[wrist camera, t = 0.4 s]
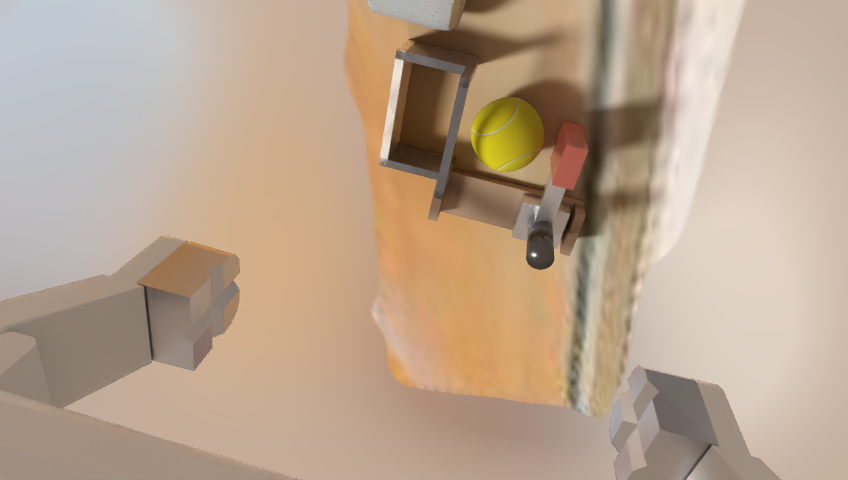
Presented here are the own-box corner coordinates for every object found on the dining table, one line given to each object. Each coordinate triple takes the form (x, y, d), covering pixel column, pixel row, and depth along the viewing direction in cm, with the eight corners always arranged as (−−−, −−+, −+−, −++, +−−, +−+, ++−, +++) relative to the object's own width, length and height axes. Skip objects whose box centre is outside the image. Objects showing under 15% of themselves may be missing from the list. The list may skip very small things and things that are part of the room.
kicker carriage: (548, 117, 52) (549, 147, 45) (598, 129, 52) (607, 162, 45) (512, 227, 59) (508, 269, 52) (556, 238, 59) (558, 282, 52)
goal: (408, 39, 52) (385, 58, 45) (480, 56, 52) (469, 79, 44) (390, 147, 58) (368, 180, 51) (454, 163, 58) (441, 199, 50)
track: (442, 165, 58) (436, 178, 55) (583, 200, 57) (585, 216, 54) (433, 204, 61) (427, 218, 58) (568, 239, 60) (569, 255, 57)
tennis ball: (462, 110, 55) (453, 133, 49) (524, 76, 52) (521, 95, 46) (495, 166, 57) (490, 194, 51) (555, 136, 54) (557, 162, 48)
